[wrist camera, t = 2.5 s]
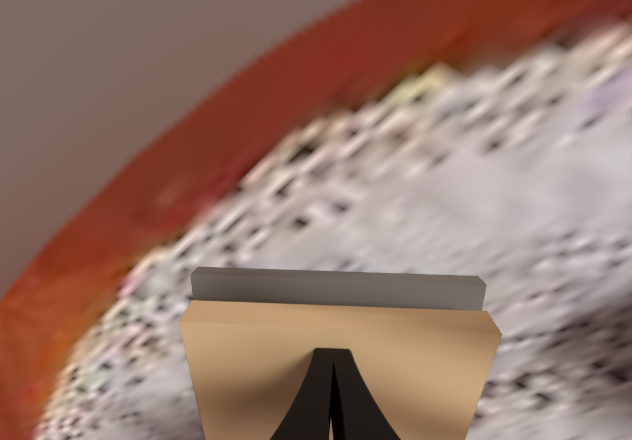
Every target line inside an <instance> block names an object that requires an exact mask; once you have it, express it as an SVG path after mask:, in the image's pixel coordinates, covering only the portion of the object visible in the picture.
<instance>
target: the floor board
mask: <svg viewBox="0 0 632 440" xmlns="http://www.w3.org/2000/svg"><path fill="white" fill-rule="evenodd" d="M191 282H192V292H193V300H198V301H225V302H252V303H279V304H306V305H333V306H360V307H387V308H414V309H441V310H468V311H482V306H483V300H484V295H485V290H486V284H485V283H484V282H483V281H482V280H481V279H480V278H479V277H478V276H453V275H424V274H394V273H364V272H335V271H305V270H275V269H246V268H216V267H197V268H196V269H195V270H194V272H193V273H192V274H191Z"/></svg>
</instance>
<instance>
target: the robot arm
mask: <svg viewBox="0 0 632 440" xmlns="http://www.w3.org/2000/svg"><path fill="white" fill-rule="evenodd" d="M330 421H331V423H332V433H333V440H401V439H400V438H399V436H398V435H397V434H396V432H395V431H394V429H393V428H392V427H391V425H390V424H389V422H388V421H387V419H386V418H385V416H384V415H383V413H382V411H381V410H380V408H379V407H378V405H377V403H376V402H375V400H374V398H373V397H372V395H371V393H370V391H369V389H368V387H367V386H366V384H365V382H364V380H363V378H362V376H361V374H360V372H359V369H358V367H357V365H356V363H355V360H354V358H353V355H352V352H351V350H349V349H341V348H315V349H314V351H313V356H312V359H311V362H310V365H309V368H308V371H307V373H306V376H305V378H304V380H303V382H302V385H301V387H300V389H299V391H298V393H297V395H296V397H295V399H294V401H293V403H292V405H291V406H290V408H289V410H288V412H287V413H286V415H285V417H284V418H283V420H282V422H281V423H280V425H279V426H278V428H277V430H276V431H275V433H274V434H273V435H272V437H271V438H270V440H329V434H330Z"/></svg>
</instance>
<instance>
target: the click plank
mask: <svg viewBox="0 0 632 440" xmlns="http://www.w3.org/2000/svg"><path fill="white" fill-rule="evenodd" d="M179 325H180V329H181V334H182V338H183V342H184V347H185V351H186V356H187V360H188V365H189V369H190V373H191V378H192V382H193V387H194V391H195V396H196V400H197V404H198V409H199V413H200V418H201V422H202V426H203V431H204V435H205V440H270V438H271V437H272V435H273V434H274V433H275V431H276V430H277V428H278V426H279V425H280V423H281V422H282V420H283V418H284V417H285V415H286V413H287V412H288V410H289V408H290V406H291V405H292V403H293V401H294V399H295V397H296V395H297V393H298V391H299V389H300V387H301V385H302V382H303V380H304V378H305V376H306V373H307V371H308V368H309V365H310V362H311V359H312V356H313V351H314V349H315V348H341V349H349V350H351V352H352V355H353V358H354V360H355V363H356V365H357V367H358V369H359V372H360V374H361V376H362V378H363V380H364V382H365V384H366V386H367V387H368V389H369V391H370V393H371V395H372V397H373V398H374V400H375V402H376V403H377V405H378V407H379V408H380V410H381V411H382V413H383V415H384V416H385V418H386V419H387V421H388V422H389V424H390V425H391V427H392V428H393V429H394V431H395V432H396V434H397V435H398V436H399V438H400V439H401V440H465V438H466V435H467V432H468V429H469V426H470V424H471V421H472V418H473V415H474V412H475V410H476V407H477V404H478V401H479V398H480V395H481V393H482V390H483V387H484V384H485V381H486V379H487V376H488V373H489V370H490V367H491V365H492V362H493V359H494V356H495V353H496V350H497V348H498V345H499V342H500V339H501V336H502V334H501V332H500V331H499V329H498V328H497V326H496V325H495V323H494V322H493V320H492V319H491V317H490V316H489V314H488V313H487V311H468V310H441V309H414V308H387V307H360V306H333V305H306V304H279V303H252V302H225V301H198V300H192V301H191V303H190V304H189V306H188V308H187V309H186V311H185V313H184V314H183V316H182V318H181V319H180V321H179ZM329 440H333V433H332V423H331V421H330V434H329Z"/></svg>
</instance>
